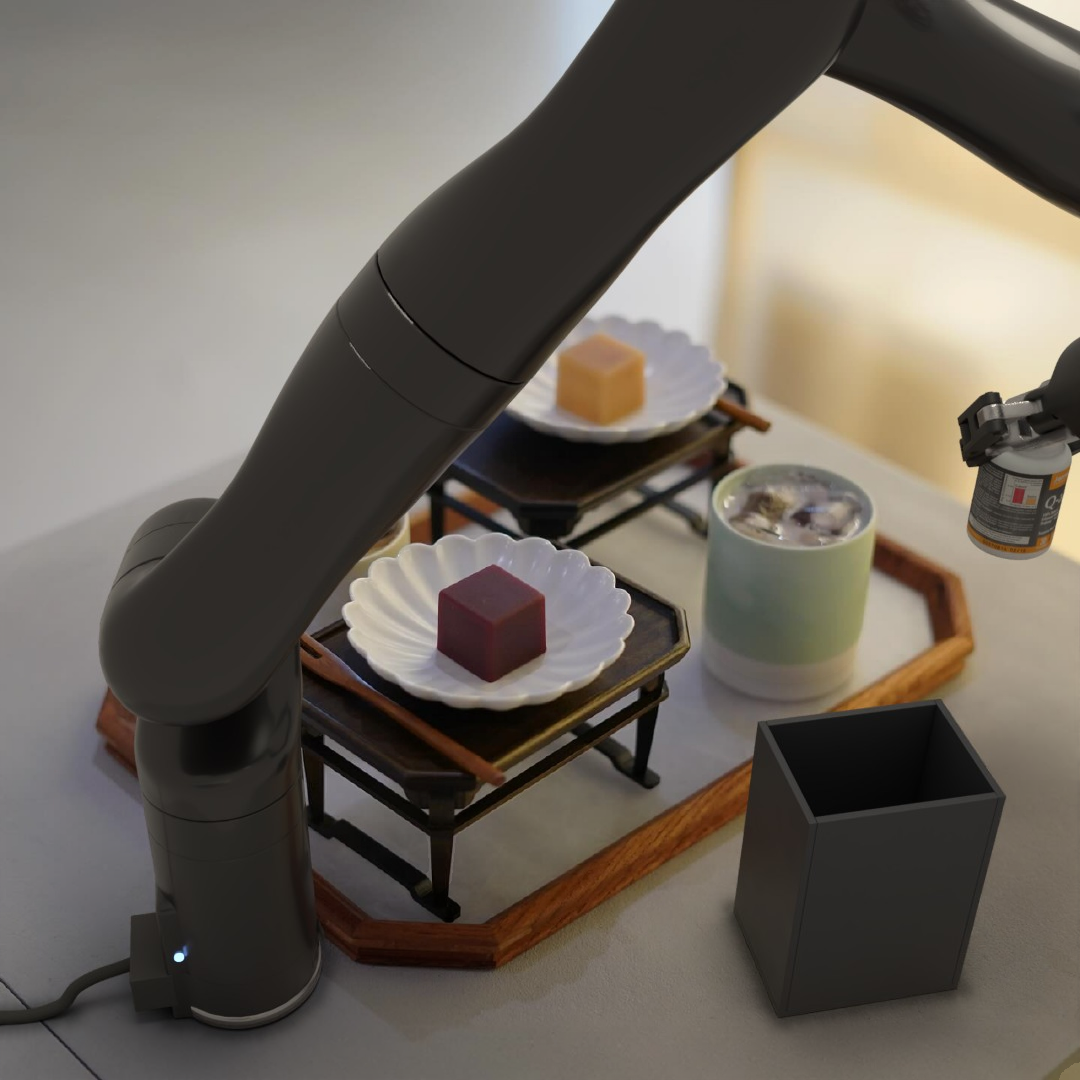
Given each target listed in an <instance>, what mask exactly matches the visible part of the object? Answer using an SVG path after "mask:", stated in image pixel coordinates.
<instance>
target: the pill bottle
mask: <svg viewBox="0 0 1080 1080" xmlns="http://www.w3.org/2000/svg"><path fill="white" fill-rule="evenodd" d="M1005 402H1006V400H1004V401H1003V404H1005ZM1007 427H1008V432H1009V435H1008V436H1005V437H1003V440H1007V439H1008V438H1009V437H1010V431H1009V426H1008V425H1007ZM1031 432H1032V436H1033V438H1034V437H1037V436H1040V435H1038V434H1037V433H1035V432H1034V430H1033V429H1032V428H1031ZM1072 461H1073V456H1072V454H1071V450H1070V448H1069V446H1068V445H1067V443H1055V444H1052V445H1049V446H1046V447H1043V448H1041V449H1038V450H1035V451H1032V452H1024V451H1015V450H1011V451H1008V452H1005V453H1002V454H1001V455H999V456H997V457H995V458H994V459H992V460H990V461H988V462H987V463H985V464H983V465H981V466H980V467H977V469H978V470H977V474H976V479H975V484H974V488H973V491H972V492H973V493H972V497H971V503H970V507H969V511H968V512H969V513H968V517H967V524H966V534H967V537H968V539H969V540H970V542H971V543H972V544H973V545H974V546H975V547H976V548H977V549H979V550H980V551H982V552H984V553H985V554H988V555H990V556H993V557H995V558H1000V559H1003V560H1004V559H1005V560H1008V561H1009V560H1010V561H1028V560H1032V559H1036V558H1038V557H1041V556H1043V555H1044V554H1045V553H1047V552H1048V551H1049V550H1050V549H1051V546H1052V543H1053V540H1054V535H1055V532H1056V528H1057V524H1058V523H1057V522H1058V519H1059V516H1060V510H1061V506H1062V503H1063V499H1064V495H1065V491H1066V486H1067V482H1068V478H1069V474H1070V470H1071V466H1072V464H1073V463H1072Z"/></svg>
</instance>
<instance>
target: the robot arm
mask: <svg viewBox="0 0 1080 1080" xmlns="http://www.w3.org/2000/svg"><path fill="white" fill-rule="evenodd" d="M584 43H585V44H584V45H583V46H582V47H581V49H580V50H579V52H578V53H577V55H576V56H575V57H574V58H573V60H572V61H571V63H570V64H569V66H568V67H567V69H566V70H565V71H564V73H563V74H562V76H561V77H560V78H559V79H558V80H557V82H556V83H555V84H554V85H553V87H552V88H551V89H550V90H549V92H548V93H547V94H546V96H544V98H543V99H542V101H541V102H539V104H538V105H537V106H536V107H535V108H534V109H533V110H532V111H531V112H530V113H529V114H528V115H527V117H526V118H524V119H523V120H522V121H521V122H520V123H519V124H518V125H517V126H515V128H514V129H513V130H511V132H509V133H508V134H507V135H506V136H504V137H503V138H502V139H500V140H499V141H498V142H496V143H495V144H494V145H493V146H491V147H490V148H489V149H487V150H486V151H485V152H483V153H482V154H480V155H479V156H477V158H475V159H474V160H472V161H471V162H470V163H468V164H467V165H466V166H465V167H463V168H462V169H460V170H459V171H458V172H456V173H455V174H453V175H452V176H451V177H450V178H449V179H448V180H446V181H445V182H444V183H443V184H441V185H440V186H438V188H436V189H435V190H434V191H433V192H432V193H430V194H429V195H428V196H426V198H425V199H424V200H422V201H421V202H420V203H419V204H418V205H417V206H416V207H415V208H414V209H413V210H412V211H410V213H409V214H408V215H407V216H406V217H405V218H404V219H403V220H402V221H401V222H400V223H399V224H398V225H397V226H396V228H394V230H393V231H391V233H390V234H389V235H388V236H387V238H386V239H385V240H384V241H383V242H382V243H381V244H380V246H379V248H377V250H376V251H375V252H374V253H373V254H372V256H371V257H369V259H368V260H367V262H366V263H365V264H364V266H363V267H362V268H361V269H360V271H359V272H358V273H357V274H356V276H355V277H354V278H353V279H352V281H350V283H349V285H348V286H346V288H345V289H344V291H343V292H342V293H341V294H340V296H339V297H338V299H336V301H335V302H334V304H333V305H332V307H331V308H330V309H329V310H328V312H327V313H326V315H325V316H324V318H323V320H322V321H321V323H320V324H319V326H318V327H317V329H316V330H315V332H314V333H313V335H312V337H311V338H310V339H309V342H308V343H307V345H306V347H305V348H304V350H303V352H302V353H301V355H300V356H299V358H298V360H297V361H296V363H295V365H294V366H293V368H292V370H291V372H290V374H289V376H288V377H287V379H286V381H285V382H284V384H283V386H282V388H281V389H280V391H279V392H278V395H277V397H276V399H275V401H274V403H273V404H272V406H271V409H270V410H269V412H268V414H267V416H266V418H265V420H264V422H263V424H262V425H261V428H260V429H259V432H258V433H257V436H256V438H255V439H254V441H253V443H252V445H251V446H250V449H249V450H248V453H247V455H246V456H245V459H244V460H243V462H242V463H241V465H240V466H239V469H238V470H237V472H236V474H235V475H234V477H233V478H232V480H231V481H230V482H229V484H228V485H227V487H225V489H224V491H223V493H222V494H221V495H220V496H219V498H215V497H206V496H205V497H204V496H203V497H191V498H185V499H181V500H178V501H175V502H172V503H169V504H168V505H165V506H164V507H162V508H160V509H158V510H156V511H155V512H154V513H153V514H151V515H149V517H148V518H147V519H145V520H144V521H143V522H142V523H141V524H140V525H139V526H138V528H137V529H136V531H135V532H134V533H133V536H132V537H131V539H130V541H129V543H128V545H127V547H126V549H125V552H124V554H123V557H122V559H121V562H120V564H119V567H118V570H117V572H116V575H115V577H114V580H113V582H112V585H111V588H110V591H109V593H108V596H107V599H106V601H105V604H104V608H103V611H102V614H101V617H100V622H99V629H98V630H99V631H98V641H97V642H98V658H99V664H100V668H101V671H102V674H103V677H104V680H105V682H106V684H107V686H108V688H109V689H110V691H111V693H112V694H113V697H115V698H116V700H117V701H119V703H120V704H121V705H122V707H124V708H125V710H127V711H128V712H130V713H131V714H132V715H134V716H136V722H135V728H134V737H133V738H134V740H133V748H134V750H133V751H134V752H133V753H134V760H135V761H134V762H135V767H136V773H137V779H138V784H139V789H140V794H141V802H142V808H143V812H144V819H145V824H146V831H147V837H148V842H149V848H150V855H151V860H152V865H153V872H154V880H155V885H154V887H155V889H154V893H155V894H154V895H155V896H154V899H155V901H154V902H155V903H154V907H155V908H154V909H155V912H147V913H141V914H140V913H139V914H133V915H130V935H129V936H130V937H129V941H130V943H129V957H127V958H124V959H121V960H118V961H115V962H113V963H110V964H107V965H104V966H101V967H98V968H96V969H92V970H91V971H88V972H87V973H84V974H83V975H81V976H79V977H78V978H76V979H75V980H73V981H71V982H70V983H69V984H68V986H67V987H66V988H65V990H64V992H63V993H62V995H61V996H60V997H59V998H58V999H56V1000H54V1001H51V1002H49V1003H46V1004H43V1005H41V1006H37V1007H32V1008H25V1009H15V1010H14V1009H13V1010H0V1025H18V1024H27V1023H33V1022H38V1021H43V1020H46V1019H49V1018H53V1017H54V1016H57V1015H60V1014H61V1013H64V1012H65V1011H67V1010H68V1009H69V1008H70V1007H71V1006H72V1005H73V1004H74V1002H75V1001H76V999H77V997H78V996H79V995H80V994H81V993H82V992H84V991H85V990H87V989H88V988H90V987H92V986H94V985H97V984H99V983H101V982H104V981H107V980H109V979H112V978H115V977H119V976H122V975H124V974H128V973H129V986H130V991H131V996H132V1002H133V1006H134V1011H135V1012H136V1013H137V1012H143V1011H151V1010H156V1009H163V1008H169V1007H171V1009H172V1015H173V1017H174V1018H175V1019H182V1018H194V1019H196V1020H198V1021H199V1022H201V1023H204V1024H206V1025H210V1026H213V1027H216V1028H221V1029H230V1030H231V1029H232V1030H238V1029H240V1030H242V1029H250V1028H251V1029H252V1028H254V1027H255V1028H256V1027H261V1026H264V1025H267V1024H271V1023H273V1022H275V1021H278V1020H281V1018H284V1017H286V1016H287V1015H289V1014H290V1013H293V1012H294V1011H295V1010H296V1009H297V1008H298V1007H300V1006H301V1005H302V1004H303V1003H304V1002H305V1001H306V1000H307V999H308V998H309V996H310V995H311V993H312V992H313V991H314V989H316V986H317V984H318V981H319V979H320V977H321V973H322V968H323V967H322V965H323V959H322V948H321V941H320V938H321V940H322V943H323V945H324V946H326V935H325V930H324V928H323V926H322V924H321V921H320V919H319V917H318V915H317V907H316V906H317V905H316V898H315V885H314V876H313V875H314V874H313V863H312V854H311V843H310V832H309V821H308V811H307V810H308V809H307V800H306V799H307V797H306V788H305V778H304V766H303V765H304V764H303V751H302V716H303V702H304V701H303V699H304V698H303V696H304V693H303V692H304V690H303V689H304V688H303V686H304V683H303V670H302V654H301V653H302V651H301V638H302V637H303V635H304V634H305V633H306V631H307V630H308V628H309V627H310V626H311V624H312V622H313V621H314V620H315V619H316V617H317V616H318V614H319V613H320V611H322V608H323V607H324V606H325V605H326V603H327V602H328V600H329V599H330V597H331V596H332V595H333V593H334V592H335V591H336V590H337V588H338V587H339V586H340V585H341V583H342V582H343V581H344V580H345V578H346V577H347V576H348V575H349V573H350V572H351V571H352V570H353V568H355V567H356V565H357V564H358V563H359V562H360V561H361V560H362V559H363V558H364V557H365V556H366V555H367V554H368V553H369V551H371V549H373V547H374V546H375V545H376V544H377V543H378V542H380V540H382V538H383V537H384V536H386V534H387V533H388V532H390V530H391V529H392V528H393V527H394V526H395V525H396V524H397V523H398V522H399V521H400V520H401V519H402V518H403V517H404V516H405V515H406V514H407V513H408V512H409V511H410V510H411V509H412V508H413V507H414V506H415V505H416V504H417V503H418V502H419V500H420V499H421V498H422V497H423V496H424V495H425V494H426V493H427V492H428V490H429V489H430V488H431V487H432V486H433V485H434V484H435V483H436V482H437V481H438V480H439V479H440V478H441V477H442V475H444V473H445V472H446V471H447V470H448V468H449V467H450V466H451V465H452V464H453V463H454V462H455V461H457V459H458V458H459V457H460V456H461V455H462V454H464V452H465V451H466V450H467V449H468V448H469V447H470V446H471V445H472V444H473V443H474V442H475V441H476V440H477V439H478V438H479V437H480V436H481V435H482V434H483V433H485V431H487V429H488V428H489V427H490V426H491V424H493V422H495V421H496V420H497V418H498V417H499V416H500V415H501V414H502V413H503V411H504V410H505V409H507V407H508V406H509V405H510V404H511V403H512V402H513V400H514V399H516V397H517V396H518V395H519V394H520V393H521V392H522V390H523V389H524V388H525V387H526V386H527V385H528V384H529V383H530V381H531V380H532V379H533V378H534V377H535V376H536V374H537V373H538V372H539V371H540V369H541V368H542V367H543V366H544V365H545V364H546V362H547V361H548V360H549V359H550V357H551V356H552V355H553V353H555V352H556V350H557V348H558V347H560V345H561V344H562V343H563V342H564V340H565V339H566V338H567V337H568V336H569V335H570V333H571V332H572V331H573V330H574V329H575V328H576V327H577V326H578V324H579V323H580V322H581V321H582V320H583V319H584V318H585V317H586V315H587V314H588V313H589V312H590V311H591V310H592V309H593V308H594V306H595V305H596V304H597V303H598V302H599V301H600V300H601V298H603V296H604V295H605V294H606V293H607V292H608V290H609V289H610V288H611V286H612V285H614V283H615V282H616V280H617V279H619V276H621V274H622V273H623V272H624V271H625V269H627V267H628V266H629V265H630V263H631V262H632V261H633V259H634V258H635V257H636V256H637V255H638V253H639V252H640V250H641V249H642V248H643V247H644V246H645V244H646V243H648V241H649V240H650V239H651V237H652V236H653V235H654V234H655V232H656V231H657V230H658V229H659V228H660V227H661V226H662V224H663V223H664V222H666V221H667V219H668V218H669V217H670V216H671V215H672V214H673V213H674V212H675V211H676V210H677V209H678V208H679V207H680V206H681V205H682V204H684V202H685V201H686V200H687V199H688V198H689V197H690V196H692V194H693V193H694V192H695V191H696V190H697V189H698V188H699V187H700V186H702V185H703V184H704V183H705V182H706V181H707V180H708V179H710V177H712V175H714V174H715V173H716V172H717V171H719V169H720V168H722V167H723V166H724V165H725V164H726V163H727V162H728V161H729V160H731V158H733V157H734V156H735V155H737V153H738V152H739V151H740V150H742V148H743V147H745V146H746V145H747V144H748V143H749V142H750V141H751V140H752V139H754V138H755V137H756V136H757V135H758V134H760V133H761V131H763V130H764V129H765V128H766V127H767V126H769V124H771V123H772V122H773V121H774V120H775V119H776V118H777V117H778V116H780V114H782V113H783V112H784V111H785V110H786V109H787V108H789V107H790V106H791V105H792V103H794V102H795V101H796V100H797V99H798V98H800V97H801V96H802V95H803V94H804V93H805V92H806V91H807V90H808V89H810V87H812V86H813V85H814V83H816V82H817V81H818V80H819V79H820V78H821V77H822V76H825V77H827V78H831V79H832V80H835V81H838V82H840V83H843V84H845V85H848V86H851V87H853V88H855V89H857V90H859V91H862V92H864V93H866V94H869V95H871V96H873V97H875V98H876V99H879V100H881V101H883V102H885V103H887V104H889V105H891V106H893V107H895V108H896V109H897V110H900V111H901V112H903V113H906V114H907V115H909V116H911V117H913V118H915V119H917V120H918V121H920V122H921V123H923V124H924V125H926V126H928V127H930V128H931V129H933V130H934V131H936V132H938V133H940V134H941V135H943V136H945V137H946V138H947V139H949V140H950V141H952V142H953V143H955V144H956V145H958V146H960V147H961V148H963V149H965V151H967V152H969V153H970V154H972V155H973V156H975V157H976V158H978V159H979V160H981V161H982V162H984V163H985V164H987V165H988V166H989V167H991V168H993V169H995V170H996V171H997V172H999V173H1001V174H1002V175H1003V176H1006V177H1007V178H1009V179H1010V180H1011V181H1013V182H1015V183H1017V185H1019V186H1021V187H1022V188H1024V189H1026V190H1027V191H1028V192H1031V193H1032V194H1034V195H1035V196H1036V197H1039V198H1040V199H1042V200H1044V201H1045V202H1047V203H1049V204H1051V205H1053V206H1054V207H1056V208H1058V209H1060V210H1062V211H1064V212H1066V213H1067V214H1069V215H1072V216H1073V217H1075V218H1077V219H1080V30H1079V29H1076V28H1074V27H1072V26H1069V25H1067V24H1065V23H1063V22H1061V21H1059V20H1056V19H1054V18H1052V17H1050V16H1048V15H1046V14H1044V13H1041V12H1039V11H1037V10H1035V9H1033V8H1031V7H1030V6H1029V7H1028V6H1026V5H1024V4H1022V3H1021V2H1019V1H1016V0H614V1H613V2H612V4H611V6H610V7H609V9H608V10H607V12H606V13H605V15H604V16H603V18H602V20H600V22H599V24H598V26H597V27H596V28H595V30H594V31H593V32H592V34H591V35H590V36H589V38H588V39H587V40H586V42H584ZM1005 401H1006V402H1005V404H1003V402H1004V401H1003V398H1002V397H1001V393H1000V392H998V391H992V390H991V391H987V392H985V393H983V394H981V395H980V396H978V397H977V398H976V399H975V400H974V401H973V402H972V403H971V404H970V405H969V406H968V407H967V408H966V409H965V410H964V411H962V413H961V414H960V415H959V416H958V417H957V419H956V420H957V424H958V427H959V431H960V434H961V438H959V440H958V443H959V447H960V448H959V449H960V453H961V459H962V463H963V462H965V464H966V467H967V468H969V469H970V468H979V467H980V466H981V465H983V464H985V463H987V462H988V461H990V460H992V459H994V458H995V457H997V456H999V455H1001V454H1002V453H1005V452H1008V451H1011V450H1015V451H1024V452H1032V451H1035V450H1038V449H1041V448H1043V447H1046V446H1049V445H1052V444H1055V443H1067V445H1068V446H1069V448H1070V450H1071V454H1072V457H1073V456H1076V455H1077V454H1079V453H1080V336H1078V338H1076V339H1074V340H1073V341H1072V342H1071V343H1069V344H1068V346H1066V347H1065V349H1064V350H1063V351H1062V352H1061V354H1060V355H1059V357H1058V359H1057V361H1056V363H1055V365H1054V369H1053V371H1052V374H1051V376H1050V378H1049V379H1047V380H1044V381H1042V382H1041V384H1039V386H1038V387H1037V388H1034V389H1031V390H1028V391H1025V392H1023V393H1020V394H1018V395H1015V396H1012V397H1010V398H1007V399H1005ZM1007 425H1008V426H1009V431H1010V437H1009V438H1008V439H1007V440H1003V437H1005V436H1008V435H1009V432H1008V427H1007ZM1031 428H1032V429H1033V430H1034V432H1035V433H1037V434H1038V435H1040V436H1037V437H1034V438H1033V436H1032V432H1031Z"/></svg>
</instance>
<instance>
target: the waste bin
mask: <svg viewBox="0 0 1080 1080" xmlns="http://www.w3.org/2000/svg"><path fill="white" fill-rule="evenodd" d="M756 725H757V726H756V731H755V740H754V748H753V755H752V763H751V772H750V779H749V785H748V794H747V795H748V796H747V803H746V811H745V819H744V826H743V834H742V841H741V850H740V858H739V863H738V864H739V865H738V866H739V867H738V873H737V881H736V887H735V888H736V889H735V895H734V896H735V897H734V904H733V912H734V915H735V917H736V919H737V922H738V924H739V928H740V929H741V931H742V934H743V936H744V939H745V941H746V944H747V946H748V948H749V951H750V953H751V956H752V959H753V960H754V962H755V966H756V968H757V971H758V973H759V975H760V978H761V980H762V982H763V985H764V987H765V989H766V991H767V994H768V996H769V999H770V1002H771V1004H772V1006H773V1008H774V1011H775V1014H776V1015H777V1018H785V1017H790V1016H798V1015H803V1014H810V1013H816V1012H822V1011H827V1010H834V1009H840V1008H846V1007H853V1006H859V1005H864V1004H871V1003H878V1002H882V1001H887V1000H888V1001H890V1000H895V999H899V998H900V999H901V998H905V997H906V998H907V997H913V996H919V995H925V994H931V993H937V992H938V993H939V992H944V991H950V990H956V989H958V987H959V984H960V980H961V976H962V972H963V968H964V964H965V961H966V956H967V953H968V948H969V944H970V940H971V937H972V932H973V928H974V925H975V921H976V918H977V914H978V909H979V906H980V902H981V898H982V893H983V890H984V885H985V882H986V879H987V873H988V871H989V867H990V862H991V858H992V854H993V850H994V846H995V844H996V843H995V842H996V839H997V835H998V832H999V827H1000V822H1001V819H1002V816H1003V811H1004V808H1005V803H1006V800H1007V795H1006V794H1005V792H1004V791H1003V789H1002V787H1001V786H1000V785H999V783H998V782H997V780H996V778H995V777H994V775H993V774H992V773H991V771H990V770H989V768H988V766H986V764H985V762H984V761H983V760H982V758H981V756H980V755H979V753H978V752H977V750H976V749H975V747H974V746H973V744H972V743H971V741H970V740H969V738H968V737H967V735H966V734H965V732H964V731H963V730H962V728H961V726H960V725H959V724H958V722H957V720H956V719H955V717H954V716H953V714H952V713H951V711H950V710H949V708H948V707H947V705H946V704H945V703H944V701H943V700H942V698H933V699H924V700H918V701H911V702H902V703H895V704H893V703H892V704H886V705H879V706H878V705H877V706H870V707H862V708H854V709H853V708H852V709H846V710H838V711H831V712H823V713H822V712H821V713H815V714H806V715H800V716H799V715H797V716H790V717H782V718H775V719H768V720H759V721H757V724H756Z"/></svg>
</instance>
